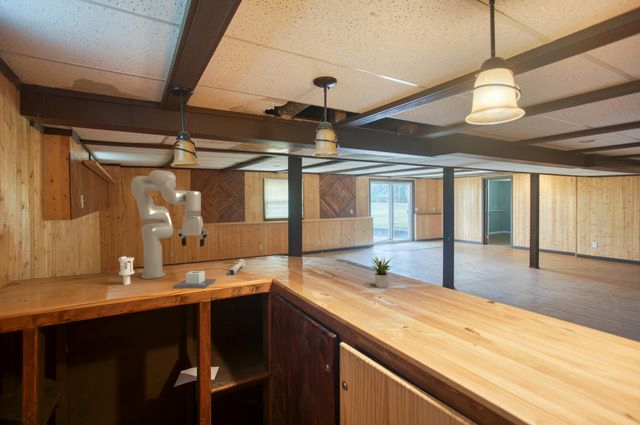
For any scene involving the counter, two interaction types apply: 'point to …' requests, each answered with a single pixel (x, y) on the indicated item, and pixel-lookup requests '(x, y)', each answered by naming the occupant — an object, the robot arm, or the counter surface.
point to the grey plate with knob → (200, 285)
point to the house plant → (381, 273)
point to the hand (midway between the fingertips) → (193, 246)
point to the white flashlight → (237, 267)
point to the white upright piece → (126, 268)
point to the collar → (195, 277)
